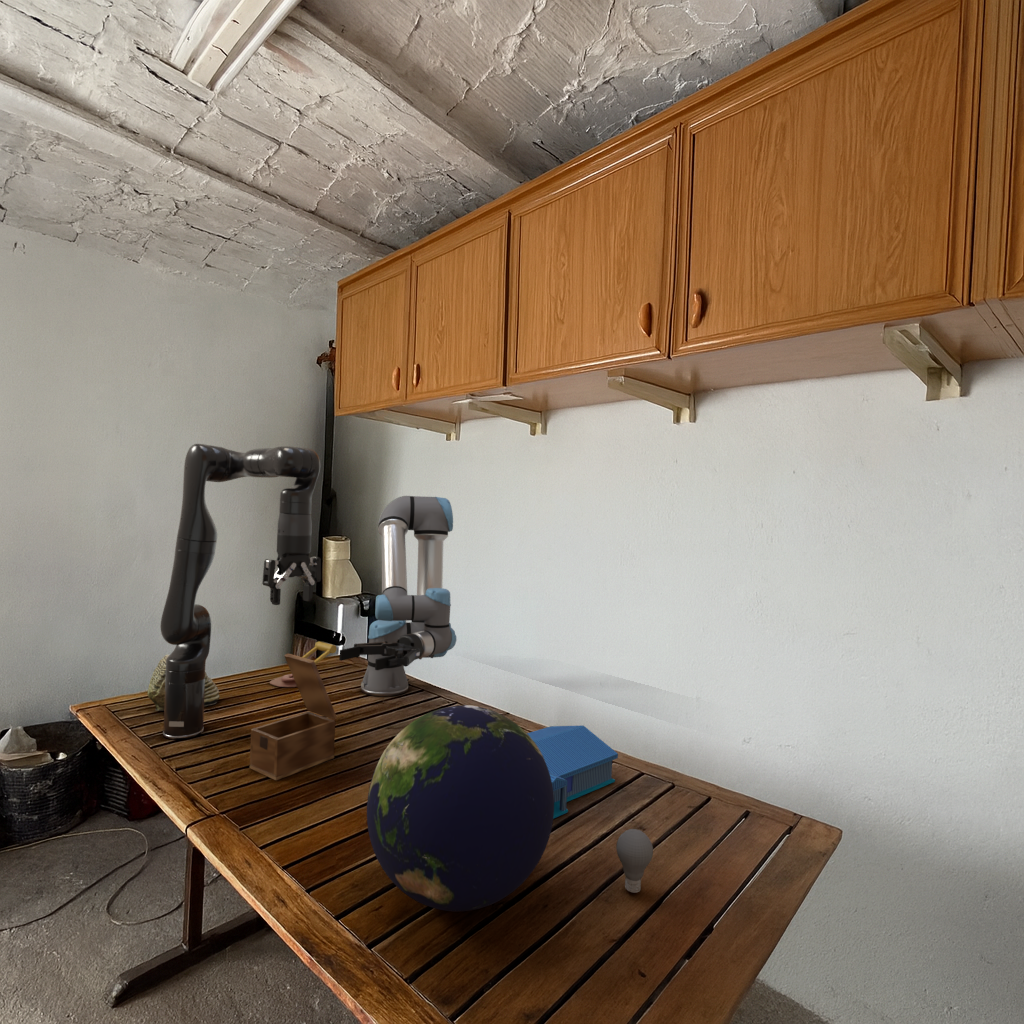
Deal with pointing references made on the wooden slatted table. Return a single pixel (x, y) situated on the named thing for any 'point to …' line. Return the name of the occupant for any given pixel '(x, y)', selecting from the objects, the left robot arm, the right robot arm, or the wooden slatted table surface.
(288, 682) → the anatomical model
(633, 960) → the wooden slatted table surface
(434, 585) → the right robot arm
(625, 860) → the light bulb
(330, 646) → the lid
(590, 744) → the model building
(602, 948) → the wooden slatted table surface
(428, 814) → the globe
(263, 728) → the chest
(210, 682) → the fossil
